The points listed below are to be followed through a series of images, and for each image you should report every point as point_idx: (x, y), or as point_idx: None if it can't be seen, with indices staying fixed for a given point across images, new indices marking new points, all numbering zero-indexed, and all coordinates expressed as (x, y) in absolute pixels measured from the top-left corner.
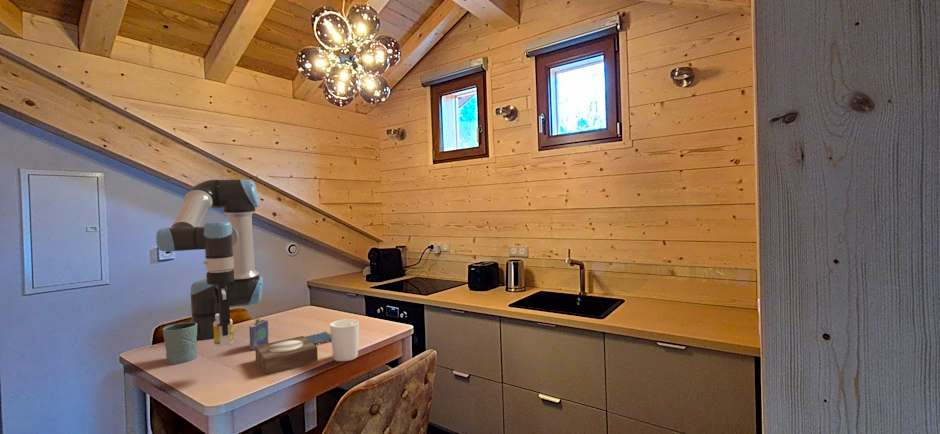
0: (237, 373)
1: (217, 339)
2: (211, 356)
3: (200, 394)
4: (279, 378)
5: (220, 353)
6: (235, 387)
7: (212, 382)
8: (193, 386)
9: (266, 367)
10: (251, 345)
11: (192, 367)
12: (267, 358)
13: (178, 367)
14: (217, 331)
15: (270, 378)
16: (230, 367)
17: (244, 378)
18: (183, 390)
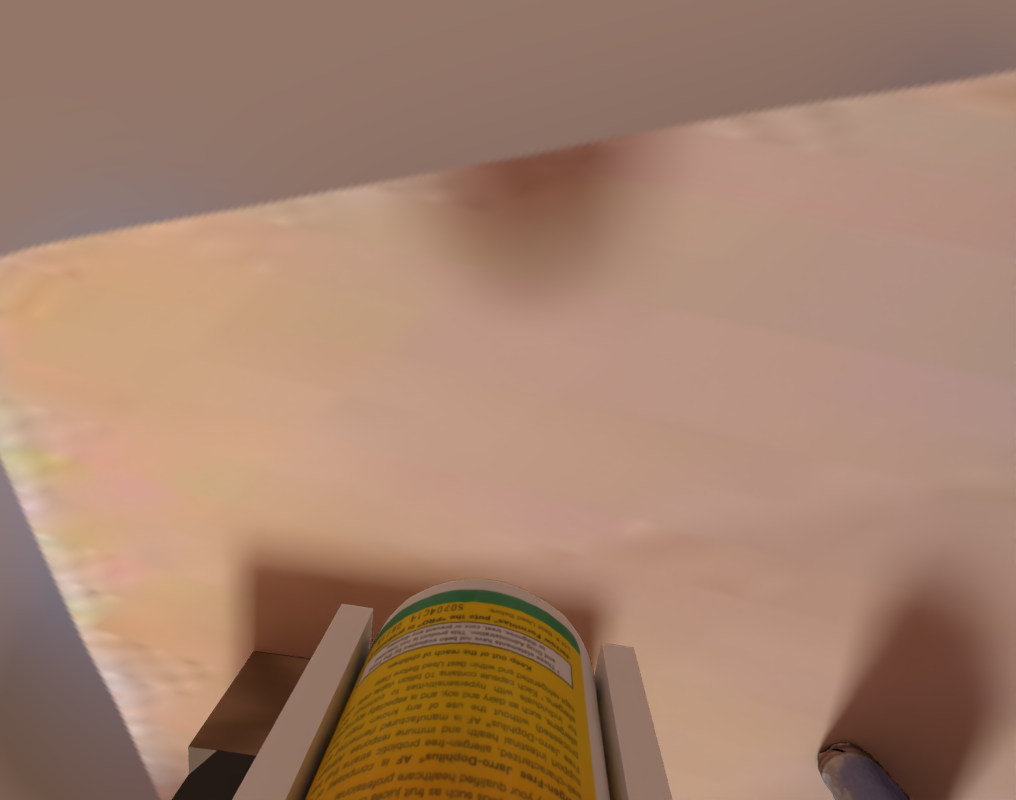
0: (429, 545)
1: (386, 652)
2: (996, 524)
3: (209, 262)
4: (141, 678)
5: (999, 588)
6: (174, 462)
7: (385, 380)
8: (410, 261)
9: (225, 694)
10: (853, 783)
11: (865, 353)
12: (200, 760)
13: (984, 268)
14: (337, 780)
15: (178, 647)
16: (595, 548)
17: (297, 547)
18: (382, 185)
